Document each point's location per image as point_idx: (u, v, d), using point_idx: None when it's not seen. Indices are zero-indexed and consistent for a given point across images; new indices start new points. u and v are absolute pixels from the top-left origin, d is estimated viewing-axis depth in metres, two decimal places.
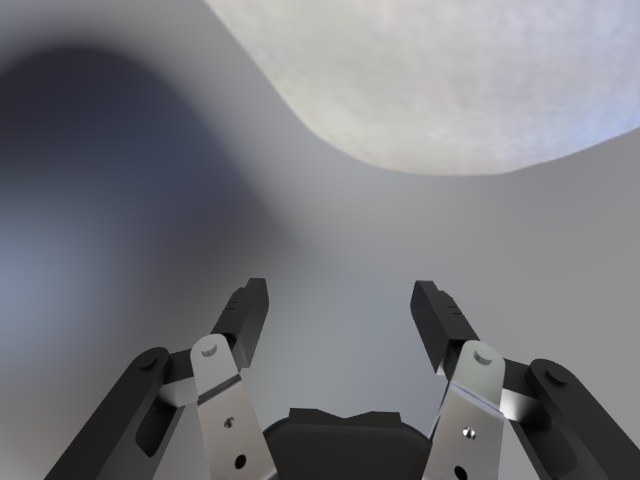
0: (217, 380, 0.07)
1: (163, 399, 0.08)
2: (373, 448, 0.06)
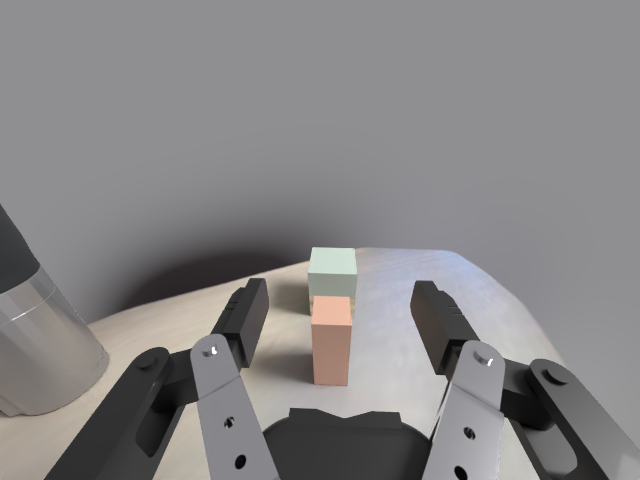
0: (217, 380, 0.07)
1: (163, 399, 0.08)
2: (373, 448, 0.06)
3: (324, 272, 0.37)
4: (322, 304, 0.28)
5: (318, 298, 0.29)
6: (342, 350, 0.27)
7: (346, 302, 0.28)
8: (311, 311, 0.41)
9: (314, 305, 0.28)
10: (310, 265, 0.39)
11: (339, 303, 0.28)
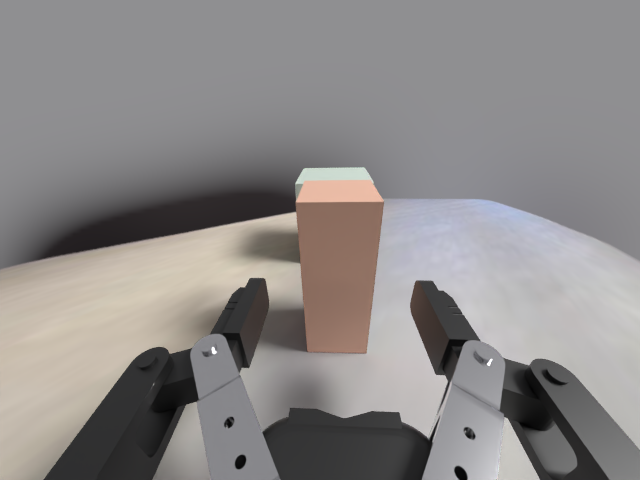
0: (217, 380, 0.07)
1: (163, 399, 0.08)
2: (373, 448, 0.06)
3: None
4: (319, 186, 0.14)
5: (312, 182, 0.15)
6: (360, 271, 0.14)
7: (366, 183, 0.15)
8: None
9: (304, 187, 0.14)
10: (300, 179, 0.25)
11: (352, 184, 0.14)
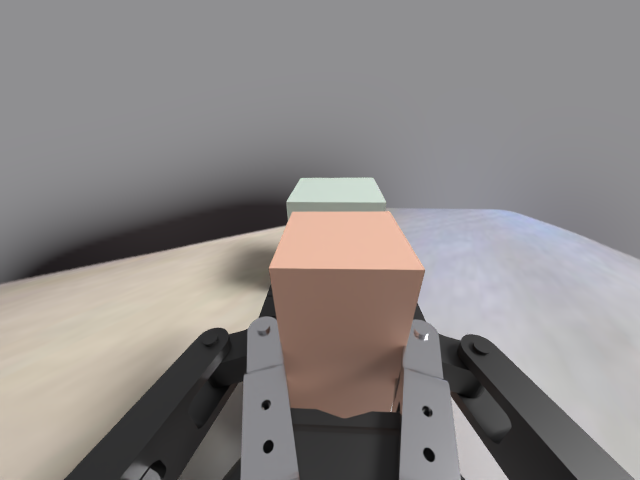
0: (264, 360, 0.08)
1: (217, 377, 0.08)
2: (373, 448, 0.06)
3: (319, 200, 0.19)
4: (313, 224, 0.09)
5: (303, 215, 0.10)
6: (376, 363, 0.09)
7: (385, 220, 0.10)
8: None
9: (289, 226, 0.09)
10: (293, 194, 0.20)
11: (364, 222, 0.09)
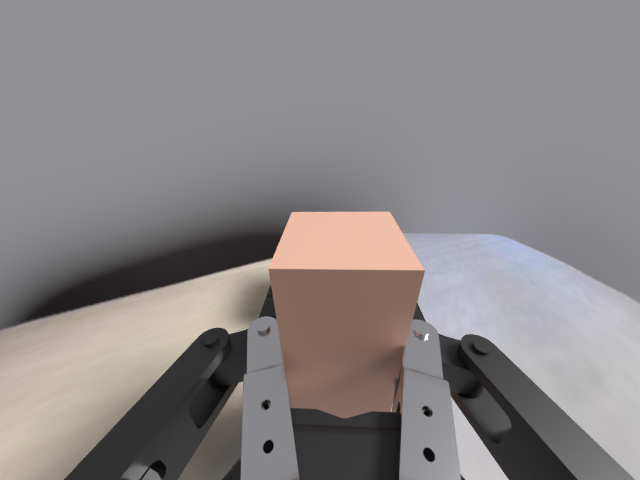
0: (264, 360, 0.08)
1: (217, 377, 0.08)
2: (373, 448, 0.06)
3: None
4: (313, 225, 0.09)
5: (302, 215, 0.10)
6: (376, 364, 0.09)
7: (385, 220, 0.10)
8: None
9: (289, 227, 0.09)
10: None
11: (364, 222, 0.09)
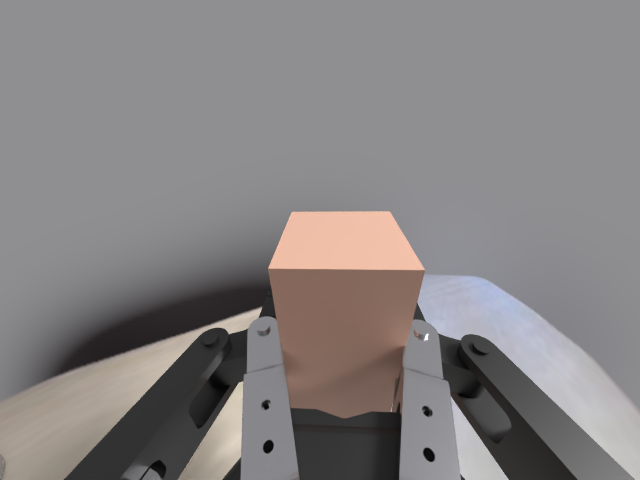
0: (264, 361, 0.08)
1: (217, 377, 0.08)
2: (373, 448, 0.06)
3: None
4: (313, 225, 0.09)
5: (302, 215, 0.10)
6: (376, 364, 0.09)
7: (384, 220, 0.10)
8: None
9: (289, 227, 0.09)
10: None
11: (364, 222, 0.09)
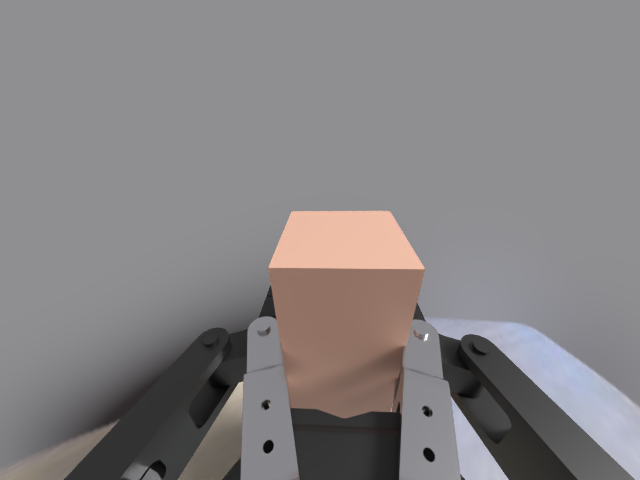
0: (264, 360, 0.08)
1: (217, 377, 0.08)
2: (373, 448, 0.06)
3: None
4: (313, 224, 0.09)
5: (302, 214, 0.10)
6: (376, 363, 0.09)
7: (385, 219, 0.10)
8: None
9: (289, 226, 0.09)
10: None
11: (364, 222, 0.09)
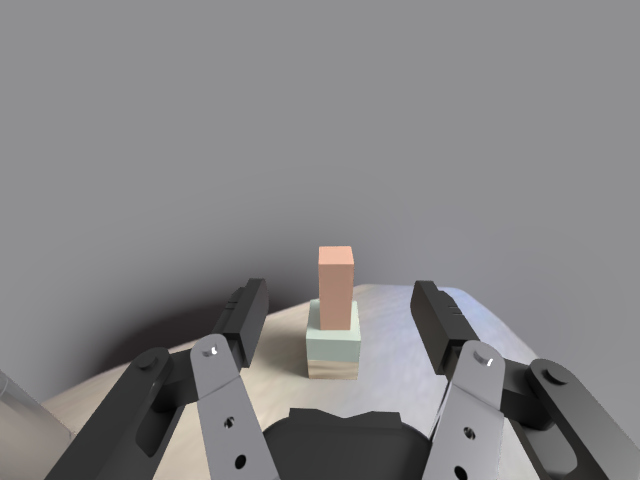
0: (217, 380, 0.07)
1: (163, 399, 0.08)
2: (373, 448, 0.06)
3: (324, 337, 0.33)
4: (327, 251, 0.31)
5: (323, 248, 0.32)
6: (345, 291, 0.31)
7: (348, 250, 0.32)
8: (310, 374, 0.37)
9: (320, 252, 0.31)
10: (308, 327, 0.35)
11: (342, 250, 0.32)
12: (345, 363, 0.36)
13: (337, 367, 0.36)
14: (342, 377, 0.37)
